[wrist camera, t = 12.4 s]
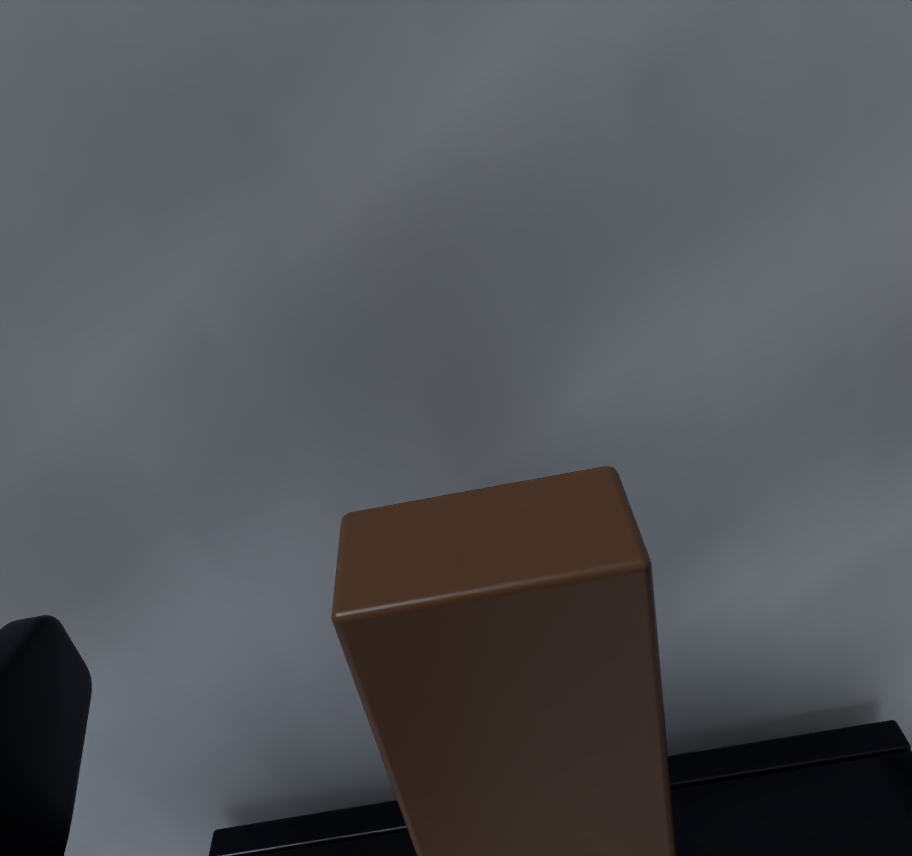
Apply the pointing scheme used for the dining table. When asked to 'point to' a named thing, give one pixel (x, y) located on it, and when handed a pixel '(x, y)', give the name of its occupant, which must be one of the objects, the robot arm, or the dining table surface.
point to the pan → (557, 702)
